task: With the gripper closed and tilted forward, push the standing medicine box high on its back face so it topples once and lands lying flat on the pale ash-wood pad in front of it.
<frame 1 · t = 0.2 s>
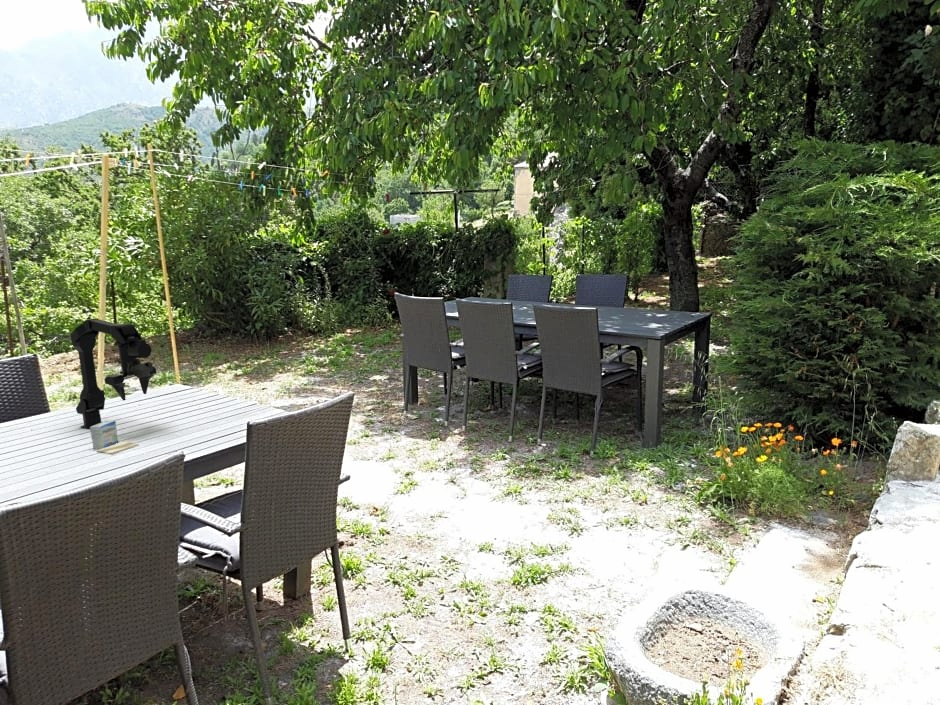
hand: (134, 397, 265), 15 cm above the table, tool pointing down, fingers open, 9 cm apart
medicine box: (106, 446, 254), on the table
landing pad: (118, 448, 250), on the table
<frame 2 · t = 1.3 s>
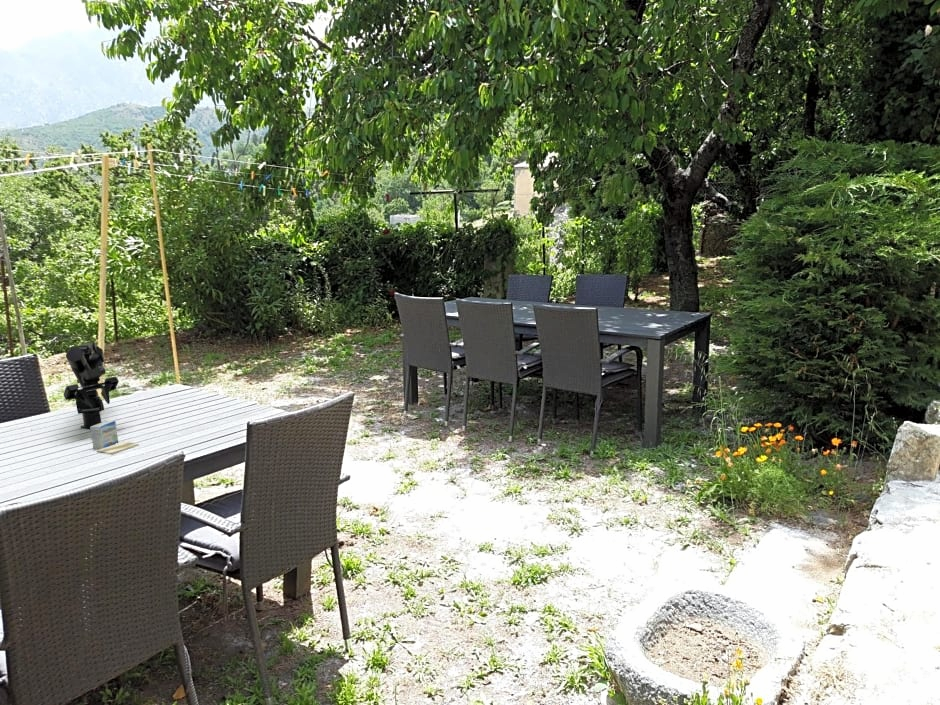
hand: (101, 405, 263), 13 cm above the table, tool tilted 45°, fingers open, 6 cm apart
nothing on the table moved.
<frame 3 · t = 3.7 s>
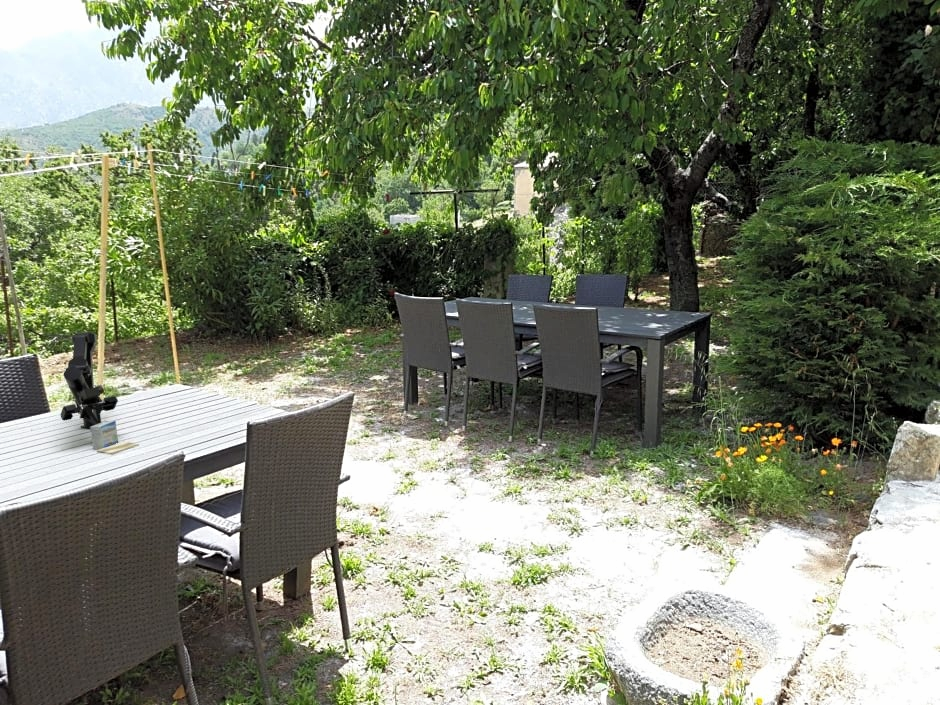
hand: (99, 425, 254), 7 cm above the table, tool tilted 45°, fingers closed
medicine box: (106, 446, 254), on the table, touching gripper
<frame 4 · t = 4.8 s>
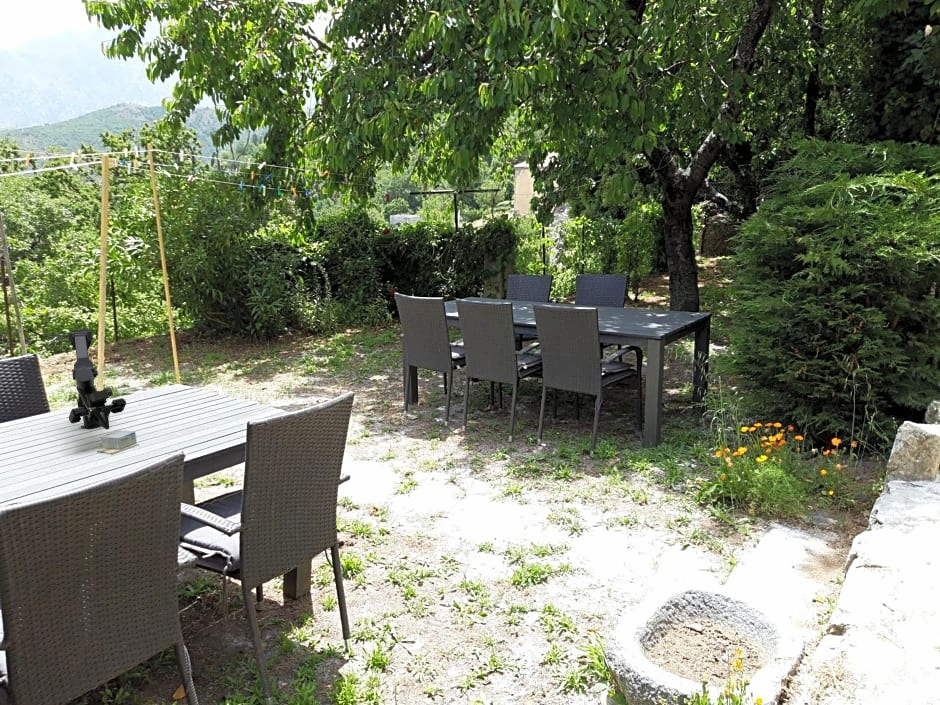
hand: (108, 428, 250), 7 cm above the table, tool tilted 45°, fingers closed
medicine box: (108, 438, 253), point 3 cm above the table, touching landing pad
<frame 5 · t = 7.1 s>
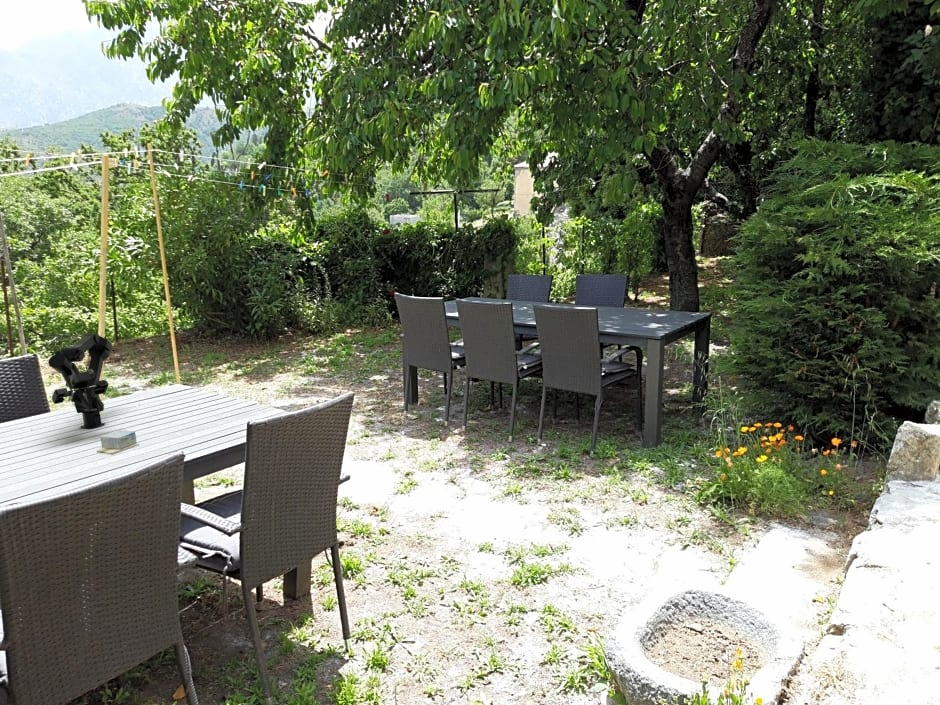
hand: (90, 409, 258), 12 cm above the table, tool tilted 45°, fingers closed
nothing on the table moved.
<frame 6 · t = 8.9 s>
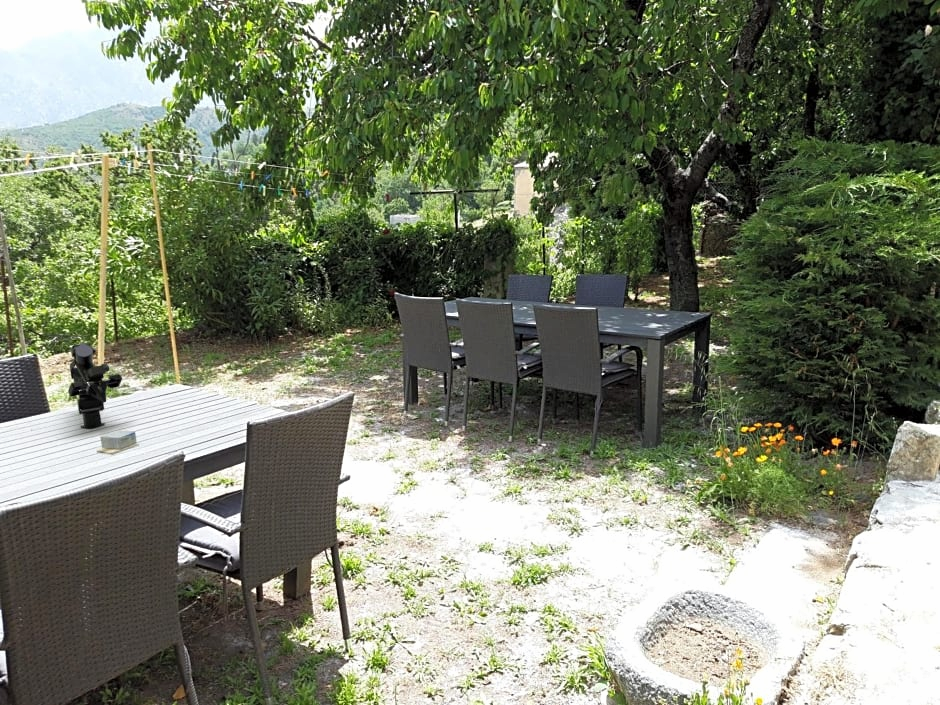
hand: (105, 401, 267), 13 cm above the table, tool tilted 45°, fingers closed
nothing on the table moved.
at the end: medicine box tilted 90°; medicine box touching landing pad; medicine box inside the target area (1.2 cm from its centre), point 2.8 cm above the table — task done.
